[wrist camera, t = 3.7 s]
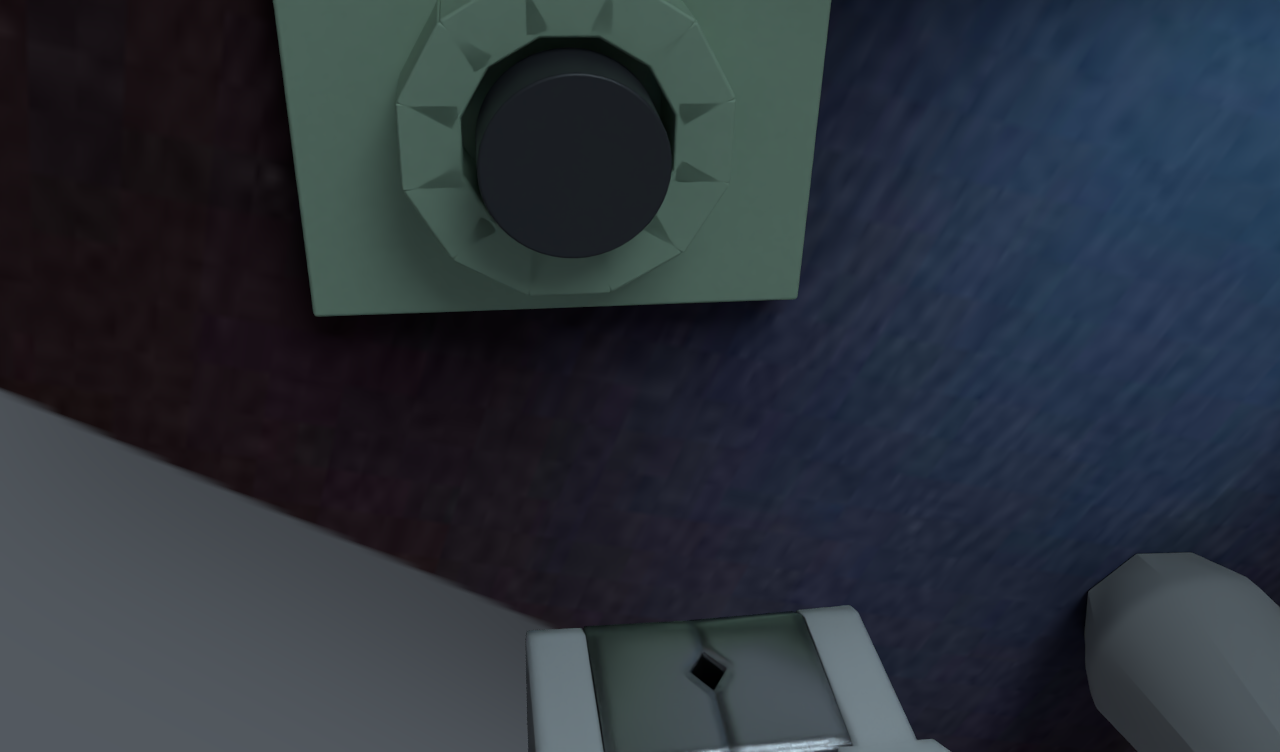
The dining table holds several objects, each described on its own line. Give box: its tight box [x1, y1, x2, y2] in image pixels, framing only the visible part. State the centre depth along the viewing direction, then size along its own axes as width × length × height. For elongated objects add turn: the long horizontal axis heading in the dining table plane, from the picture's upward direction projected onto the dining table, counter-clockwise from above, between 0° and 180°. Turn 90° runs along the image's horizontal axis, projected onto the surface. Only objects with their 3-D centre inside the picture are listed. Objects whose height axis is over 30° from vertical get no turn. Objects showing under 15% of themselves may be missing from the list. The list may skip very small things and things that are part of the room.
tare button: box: [475, 47, 672, 258], centre depth 22 cm, size 4×4×2 cm
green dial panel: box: [273, 0, 831, 317], centre depth 23 cm, size 11×9×3 cm
